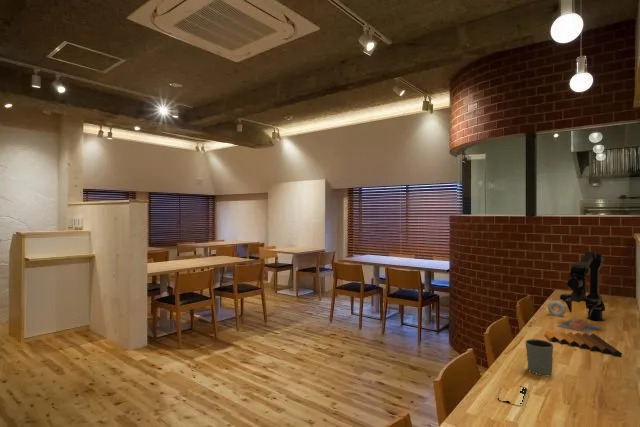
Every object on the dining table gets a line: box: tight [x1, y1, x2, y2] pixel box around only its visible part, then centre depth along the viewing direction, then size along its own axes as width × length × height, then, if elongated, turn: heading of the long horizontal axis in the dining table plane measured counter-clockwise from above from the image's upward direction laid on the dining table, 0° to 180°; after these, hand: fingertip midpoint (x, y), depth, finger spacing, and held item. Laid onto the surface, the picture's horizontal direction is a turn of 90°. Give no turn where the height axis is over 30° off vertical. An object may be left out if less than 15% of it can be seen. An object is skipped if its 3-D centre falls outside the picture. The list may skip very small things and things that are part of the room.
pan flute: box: [544, 330, 623, 358], centre depth 192 cm, size 25×3×25 cm
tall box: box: [568, 318, 589, 332], centre depth 219 cm, size 3×5×12 cm
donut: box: [547, 300, 567, 317], centre depth 243 cm, size 10×4×10 cm, turn 45°
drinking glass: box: [525, 338, 554, 376], centre depth 162 cm, size 10×10×12 cm
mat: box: [556, 319, 602, 334], centre depth 221 cm, size 20×16×1 cm
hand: (579, 314), depth 220 cm, fingers open, 9 cm apart
